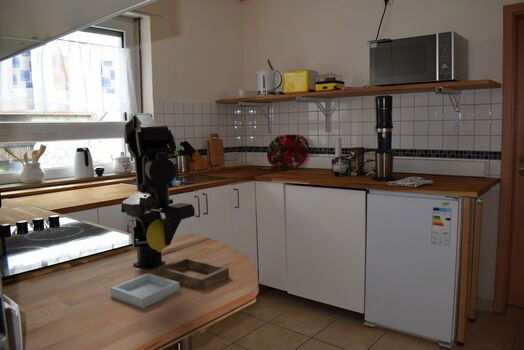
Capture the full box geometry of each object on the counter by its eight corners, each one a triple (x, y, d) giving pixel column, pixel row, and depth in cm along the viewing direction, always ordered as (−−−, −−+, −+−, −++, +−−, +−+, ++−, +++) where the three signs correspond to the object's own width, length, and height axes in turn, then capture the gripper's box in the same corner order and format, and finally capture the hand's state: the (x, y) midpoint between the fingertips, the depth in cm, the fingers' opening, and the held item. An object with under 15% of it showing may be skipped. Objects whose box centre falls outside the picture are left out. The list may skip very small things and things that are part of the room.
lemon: (166, 256, 101) (164, 222, 100) (143, 255, 102) (141, 221, 101) (174, 248, 106) (173, 216, 105) (153, 248, 107) (151, 216, 106)
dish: (110, 296, 101) (110, 287, 101) (148, 281, 110) (148, 272, 110) (142, 308, 95) (142, 298, 95) (179, 291, 104) (179, 282, 104)
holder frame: (158, 277, 113) (158, 267, 113) (185, 265, 121) (185, 257, 121) (202, 290, 104) (202, 280, 104) (228, 277, 112) (228, 267, 112)
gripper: (100, 180, 100) (105, 246, 102) (159, 186, 90) (162, 259, 92) (138, 174, 109) (141, 235, 111) (195, 179, 99) (197, 246, 101)
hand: (158, 243), depth 104 cm, fingers closed on lemon, 5 cm apart
